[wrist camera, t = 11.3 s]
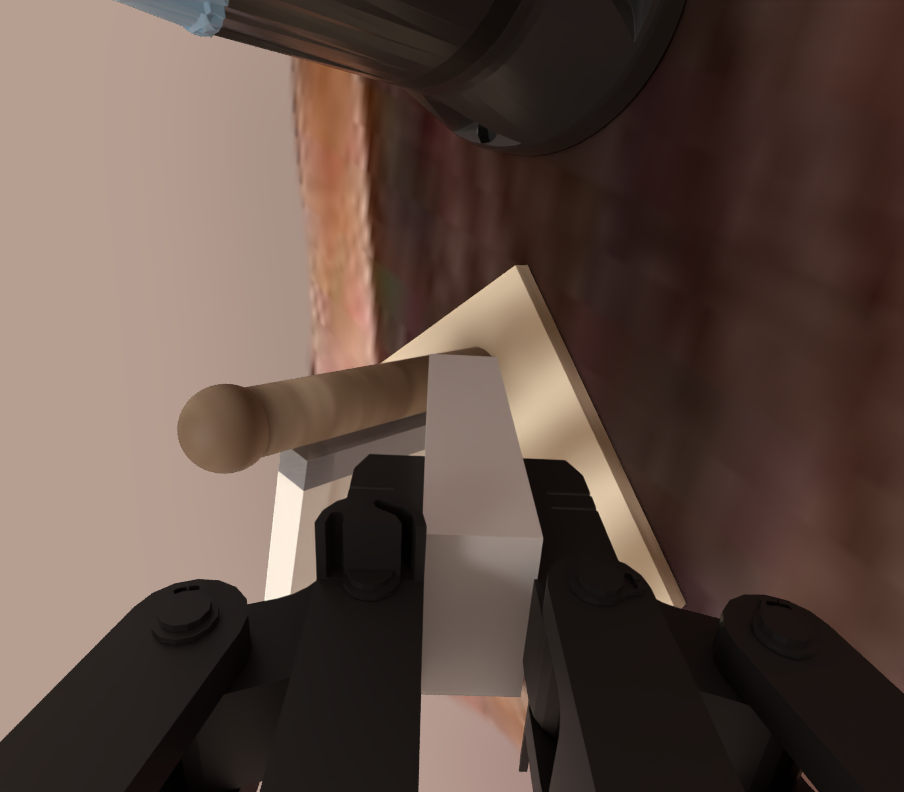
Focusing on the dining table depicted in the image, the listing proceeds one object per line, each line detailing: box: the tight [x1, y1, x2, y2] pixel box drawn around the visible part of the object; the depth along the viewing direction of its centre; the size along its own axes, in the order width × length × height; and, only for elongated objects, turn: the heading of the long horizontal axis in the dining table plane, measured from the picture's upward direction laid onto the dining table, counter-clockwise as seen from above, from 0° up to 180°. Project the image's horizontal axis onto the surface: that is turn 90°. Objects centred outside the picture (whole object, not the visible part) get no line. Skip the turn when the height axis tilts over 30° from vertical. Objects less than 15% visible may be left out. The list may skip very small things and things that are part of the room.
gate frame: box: [178, 265, 686, 609], centre depth 32 cm, size 20×19×19 cm
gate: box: [264, 412, 427, 601], centre depth 36 cm, size 17×2×12 cm, turn 164°
